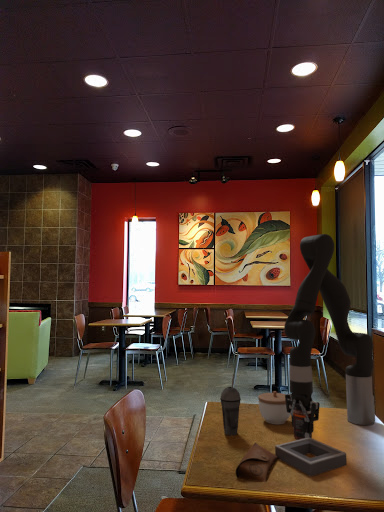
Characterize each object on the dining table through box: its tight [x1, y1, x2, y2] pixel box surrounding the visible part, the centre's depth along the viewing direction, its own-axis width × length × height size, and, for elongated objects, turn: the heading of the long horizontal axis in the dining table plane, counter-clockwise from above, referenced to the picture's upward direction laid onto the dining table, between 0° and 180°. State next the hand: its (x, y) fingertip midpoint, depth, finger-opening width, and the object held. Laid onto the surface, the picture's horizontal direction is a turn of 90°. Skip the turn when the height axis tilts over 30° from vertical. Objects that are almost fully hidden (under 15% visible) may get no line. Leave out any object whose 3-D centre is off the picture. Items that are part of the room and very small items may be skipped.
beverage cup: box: [220, 373, 242, 436], centre depth 136 cm, size 7×7×20 cm
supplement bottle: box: [292, 403, 313, 440], centre depth 131 cm, size 6×6×11 cm
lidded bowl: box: [257, 390, 291, 425], centre depth 148 cm, size 13×13×11 cm
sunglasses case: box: [235, 442, 279, 483], centre depth 110 cm, size 18×7×7 cm
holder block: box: [274, 437, 347, 477], centre depth 113 cm, size 14×14×3 cm
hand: (302, 429), depth 130 cm, fingers closed on supplement bottle, 6 cm apart
